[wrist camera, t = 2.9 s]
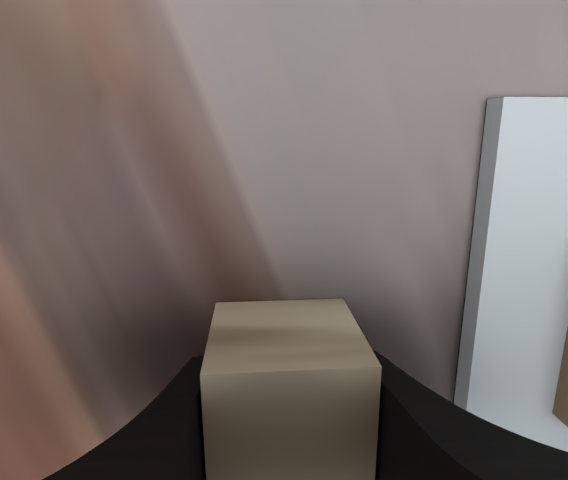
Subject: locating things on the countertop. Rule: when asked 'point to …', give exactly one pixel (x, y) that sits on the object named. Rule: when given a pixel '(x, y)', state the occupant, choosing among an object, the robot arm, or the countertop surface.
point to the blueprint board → (519, 274)
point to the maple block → (289, 393)
